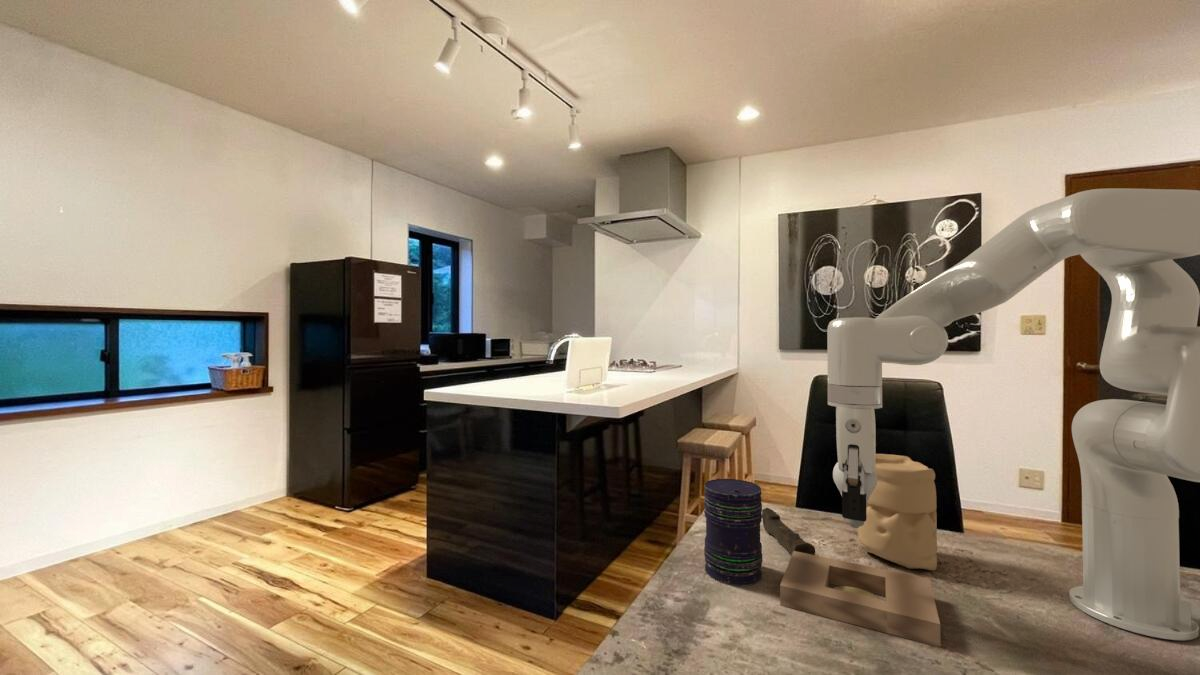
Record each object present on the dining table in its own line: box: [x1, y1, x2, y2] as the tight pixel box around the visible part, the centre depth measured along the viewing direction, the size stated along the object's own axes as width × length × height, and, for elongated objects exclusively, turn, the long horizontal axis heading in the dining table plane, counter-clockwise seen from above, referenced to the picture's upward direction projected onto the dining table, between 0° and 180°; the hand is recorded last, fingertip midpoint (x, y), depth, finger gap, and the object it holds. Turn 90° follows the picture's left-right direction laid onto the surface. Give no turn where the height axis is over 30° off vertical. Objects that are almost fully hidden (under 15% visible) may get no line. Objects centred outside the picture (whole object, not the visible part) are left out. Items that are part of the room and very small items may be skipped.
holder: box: [779, 551, 942, 648], centre depth 73 cm, size 20×14×3 cm
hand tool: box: [761, 507, 816, 555], centre depth 95 cm, size 19×4×5 cm, turn 1°
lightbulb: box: [832, 461, 877, 529], centre depth 73 cm, size 6×6×11 cm
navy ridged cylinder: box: [703, 478, 763, 587], centre depth 83 cm, size 10×10×15 cm
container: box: [857, 453, 938, 572], centre depth 88 cm, size 13×13×18 cm
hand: (854, 511), depth 73 cm, fingers closed on lightbulb, 5 cm apart
